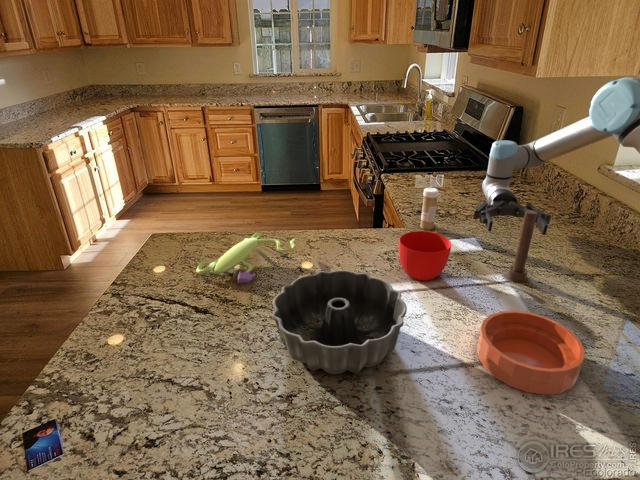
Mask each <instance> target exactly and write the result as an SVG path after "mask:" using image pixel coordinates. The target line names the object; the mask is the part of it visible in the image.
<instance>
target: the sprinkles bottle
mask: <svg viewBox="0 0 640 480" xmlns="http://www.w3.org/2000/svg"><path fill="white" fill-rule="evenodd" d="M438 197H439V189H438V188H434V187H425V188H424V189H423V201H422V209H421V215H420V216H421V217H420V218H421V219H420V225H419V227H420V228H421V229H423V230H429V231H430V230H433V229H435V221H436V215H437V207H438Z"/></svg>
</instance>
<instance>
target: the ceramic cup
mask: <svg viewBox="0 0 640 480" xmlns="http://www.w3.org/2000/svg"><path fill="white" fill-rule="evenodd" d="M451 250H452V243H451V240H450V239H448V238H447V237H446V236H444V235H442V234H439V233H437V232H434V231H433V232H432V231H426V230H416V231H409V232H406V233H403V234H401V235H400V237H399V240H398V256H399V257H398V258H399V263H400V265H401V267H402V269H403V271H404V272H405V274H406V275H407V276H408V277H410V278H411V279H413V280H416V281H423V282H424V281H425V282H426V281H432V280H434V279H435V278H437V277H438V276H439V275H440V274H441V273H442V272H443V271H444V270H445V268H446V266H447V263H448V260H449V258H450V254H451Z"/></svg>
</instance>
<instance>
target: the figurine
mask: <svg viewBox="0 0 640 480" xmlns="http://www.w3.org/2000/svg"><path fill="white" fill-rule="evenodd" d="M262 235H263V234H262V232H255V233H254V234H252V236H251V237H245V238H244V239H243V240H242V241H240V242H238V243H237V244H235V245H233V246H232V247H231V248H229V249H228V250H227V251H226V252H225V253H224V254H223V255H221V256H220V257H218V258H217V259H216V260H215V261H213V262H211V263H209V265H208V266H206V267H204V266H205V264H206V263H207V259H206V258H202V260H201V261H200V262H199V264H198V265H197V267H196V269H195V273H196V274H197V275H198V276H199V275H204V274H206V273H208V272H209V271H211V270H212V269H213V268H214V269H213V272H215V273H218V274H222V273H225V272H228V274H232V275H233V273H234V272H235V267H237V266H239V264H241V265H242V266H244V267H246V268H247V267H248V268H247V270H246V271H245V269H243V268H242V269H240V270H239V272H238V274H237V276H236V277H237V284H246V283H247V284H248V283H250V282H252V281H253V280H255V278H256V273H254V271H253V269H254V266H253V264H251V263H250V262H247V261H245V260H246V259H247V258H248V257H249V256H250V255H251V254H252V253H253V252H254V250H255V249H256V247H257V245H258V244H274V245H276V247H275V248H276V251H277V252H278V253H279V254H285V253H288V252H292V251H294V250H295V249H296V245H295V243H297V240H296V238H293V239H291V240H290V241H289V245H290V247H291V248H290V247H289V248H281V241H280V240H278V239H276V238H275V239H274V238H261V237H262Z"/></svg>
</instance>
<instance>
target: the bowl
mask: <svg viewBox="0 0 640 480" xmlns="http://www.w3.org/2000/svg"><path fill="white" fill-rule="evenodd" d="M476 353H477V358H478V360H479V361H480V363H481V365H482V367H483V368H484V369H485V370H486V371H487V372H488V373H489V374H491V375H492V377H494V378H496V379H497V380H499V381H501V382H502V383H504V384H505V385H507V386H509V387H511V388H514V389H517V390H520V391H522V392H525V393H531V394H538V395H556V394H562V393H564V392H566V391H568V390H570V389H572V387H574V385H575V384H576V382H577V381H578V378H579V376H580V372H581V369H582V367H583V365H584V361H585V355H586V354H585V353H586V350H585V347H584V345H583V344H582V342H581V339H580V338H579V337H578V336H577V335H576V334H574V332H573V331H572V330H571V329H569V328H568V327H566V326H565V325H562V324H561V323H560V322H558V321H556V320H553V319H551V318H549V317H546V316H544V315H541V314H537V313H533V312H531V311H523V310H502V311H498V312H495V313H491V314H490V315H488V316H487V317H485V318H484V319H483V321H482V323H481V326H480V330H479V335H478V340H477V344H476Z"/></svg>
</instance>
